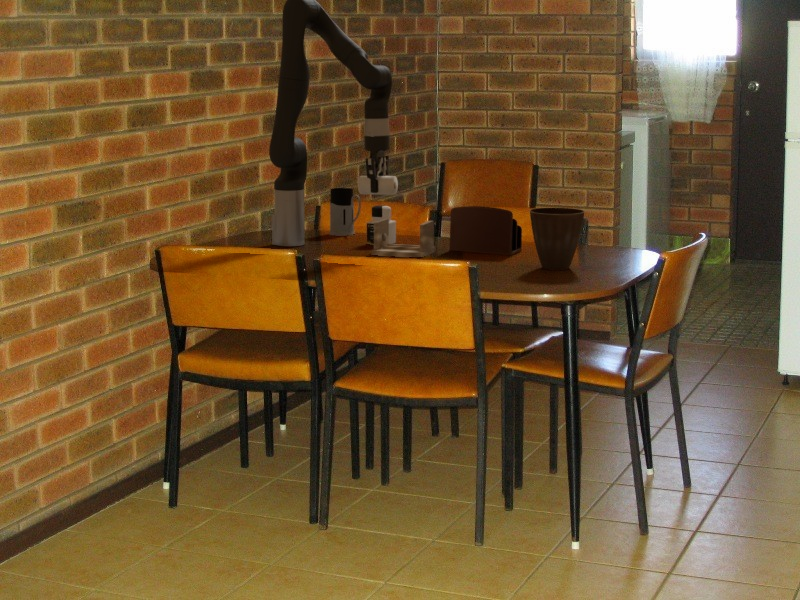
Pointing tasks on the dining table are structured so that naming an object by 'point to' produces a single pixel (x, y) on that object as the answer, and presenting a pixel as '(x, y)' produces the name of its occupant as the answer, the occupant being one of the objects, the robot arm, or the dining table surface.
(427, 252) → the roll holder
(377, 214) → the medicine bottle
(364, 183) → the paper roll
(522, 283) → the dining table surface
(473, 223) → the letter holder
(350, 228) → the glass holder
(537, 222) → the plant pot
